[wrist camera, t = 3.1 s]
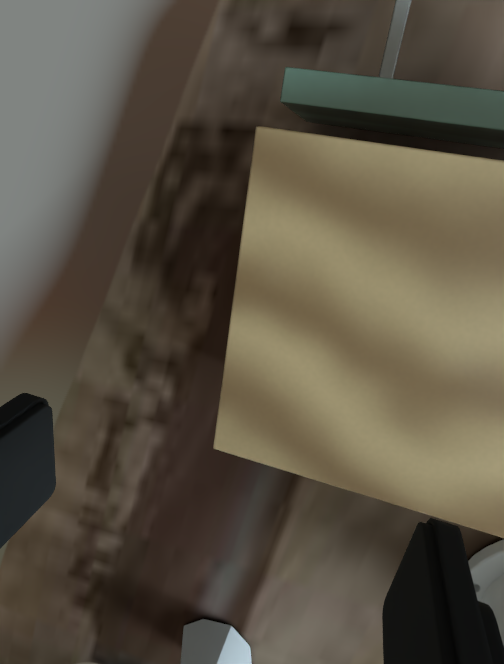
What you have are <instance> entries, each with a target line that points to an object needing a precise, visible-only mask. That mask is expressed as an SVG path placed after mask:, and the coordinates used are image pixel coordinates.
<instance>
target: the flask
mask: <svg viewBox="0 0 504 664" xmlns="http://www.w3.org/2000/svg"><path fill="white" fill-rule="evenodd" d="M181 664H252V661H251V650H250V646H249V645H248V644H247V642H246V641H245V640H244V639H243V638H242V637H241V636H240V635H239V634H238V632H237V631H236V630H235V629H234V628H233V627H232V626H231V625H227V624H222V623H218V622H214V621H210V620H206V619H202V620H199V621H196V622H193V623H190V624H188V625H185V626H184V629H183V640H182V654H181Z"/></svg>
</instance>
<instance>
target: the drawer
mask: <svg viewBox="0 0 504 664" xmlns="http://www.w3.org/2000/svg"><path fill="white" fill-rule="evenodd" d="M411 1H412V0H396V2H395V6H394V11H393V15H392V20H391V24H390V28H389V33H388V37H387V42H386V46H385V50H384V55H383V59H382V64H381V68H380V72H379V77H372V76H363V75H354V74H345V73H336V72H327V71H318V70H309V69H300V68H291V67H286V68H285V72H284V79H283V85H282V92H281V99H280V102H282V103H283V104H284V105H286V106H287V107H288V108H289V109H291V110H292V111H293V112H295V113H296V114H297V115H299V116H300V117H301V118H303V119H304V120H305V121H306V122H312V123H319V124H327V125H334V126H341V127H349V128H356V129H363V130H371V131H378V132H385V133H393V134H400V135H407V136H415V137H422V138H429V139H437V140H444V141H451V142H459V143H466V144H473V145H481V146H488V147H495V148H503V149H504V91H498V90H489V89H480V88H471V87H462V86H453V85H444V84H435V83H426V82H417V81H408V80H399V79H393V76H394V72H395V67H396V63H397V59H398V55H399V51H400V47H401V42H402V38H403V34H404V30H405V26H406V21H407V17H408V13H409V9H410V5H411Z"/></svg>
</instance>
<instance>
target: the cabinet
mask: <svg viewBox="0 0 504 664" xmlns="http://www.w3.org/2000/svg"><path fill="white" fill-rule="evenodd" d="M213 448H214V449H216V450H220V451H223V452H226V453H229V454H233V455H236V456H239V457H242V458H246V459H249V460H252V461H255V462H259V463H262V464H265V465H268V466H272V467H275V468H278V469H281V470H284V471H288V472H291V473H294V474H297V475H301V476H304V477H307V478H310V479H314V480H317V481H320V482H323V483H327V484H330V485H333V486H336V487H340V488H343V489H346V490H349V491H353V492H356V493H359V494H362V495H366V496H369V497H372V498H375V499H378V500H382V501H385V502H388V503H391V504H395V505H398V506H401V507H404V508H408V509H411V510H414V511H417V512H421V513H424V514H427V515H430V516H434V517H437V518H440V519H443V520H447V521H450V522H453V523H456V524H460V525H463V526H466V527H469V528H472V529H476V530H479V531H482V532H485V533H489V534H492V535H495V536H498V537H502V538H504V161H502V160H495V159H488V158H481V157H474V156H467V155H460V154H453V153H446V152H439V151H432V150H425V149H418V148H411V147H403V146H396V145H389V144H382V143H375V142H368V141H361V140H354V139H347V138H340V137H333V136H326V135H319V134H312V133H305V132H298V131H291V130H284V129H276V128H269V127H262V126H257V127H256V130H255V138H254V145H253V153H252V160H251V168H250V175H249V183H248V190H247V198H246V205H245V213H244V220H243V228H242V235H241V243H240V250H239V258H238V265H237V273H236V280H235V288H234V296H233V303H232V311H231V318H230V326H229V333H228V341H227V348H226V356H225V363H224V371H223V378H222V386H221V393H220V401H219V408H218V416H217V423H216V431H215V438H214V446H213Z"/></svg>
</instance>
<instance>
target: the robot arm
mask: <svg viewBox="0 0 504 664" xmlns="http://www.w3.org/2000/svg"><path fill="white" fill-rule="evenodd" d="M55 486H56V476H55V457H54V437H53V419H52V408H51V407H50V406H49V405H48V402H47V400H46V399H44V398H40V397H37V396H34V395H31V394H28V393H22V394H20V395H18V396H16V397H15V398H13V399H12V400H10V401H9V402H7V403H6V404H4V405H3V406H1V407H0V548H1V547H2V546H3V545H4V544H5V543H6V542H7V541H8V540H9V539H10V538H11V537H12V536H13V535H14V534H15V533H16V532H17V531H18V530H19V529H20V528H21V527H22V526H23V525H24V524H25V523H26V522H27V520H28V519H29V518H30V517H31V516H32V515H33V514H34V513H35V512H36V511H37V510H38V509H39V508H40V507H41V506H42V505H43V504H44V503H45V502H46V501H47V500H48V499H49V498H50V496H51V495H52V493H53V492H54V489H55ZM383 654H384V664H504V540H501V541H499V542H496V543H494V544H492V545H489V546H487V547H485V548H484V549H482V550H481V551H479V552H478V553H476V554H475V555H474V556H473V557H472V558H471V559H470V560H469V561H468V559H467V555H466V551H465V547H464V543H463V539H462V535H461V531H460V529H459V527H458V526H456V525H452V524H449V523H446V522H443V521H439V520H436V519H433V518H430V519H429V520H428V521H427V523H423V522H419V523H418V524H417V526H416V529H415V531H414V533H413V536H412V538H411V540H410V543H409V545H408V547H407V549H406V552H405V554H404V556H403V559H402V561H401V563H400V566H399V568H398V570H397V573H396V575H395V577H394V580H393V582H392V584H391V586H390V589H389V591H388V593H387V596H386V598H385V601H384V606H383Z"/></svg>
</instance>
